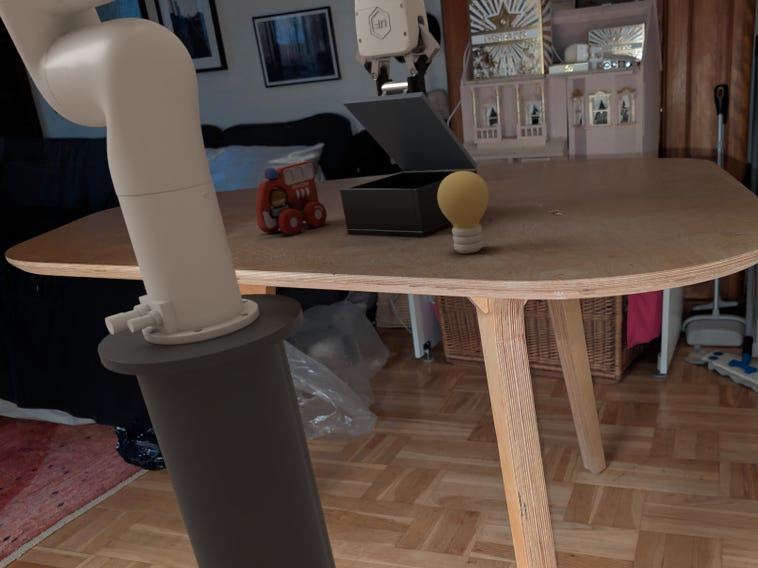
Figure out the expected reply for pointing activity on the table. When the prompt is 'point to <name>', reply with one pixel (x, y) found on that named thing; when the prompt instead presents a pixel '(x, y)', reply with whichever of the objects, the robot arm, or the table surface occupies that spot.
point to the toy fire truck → (289, 199)
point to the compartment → (396, 205)
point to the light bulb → (464, 208)
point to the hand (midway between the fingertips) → (403, 105)
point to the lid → (410, 129)
